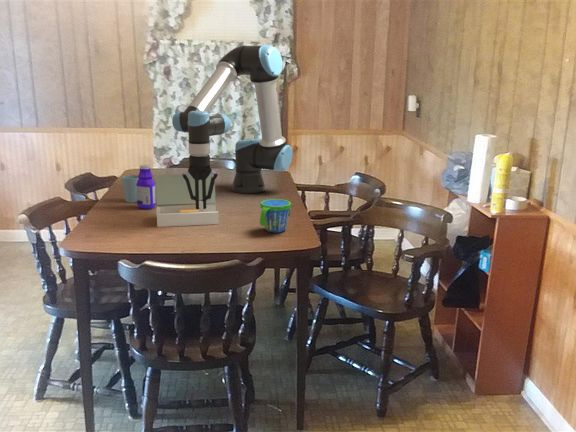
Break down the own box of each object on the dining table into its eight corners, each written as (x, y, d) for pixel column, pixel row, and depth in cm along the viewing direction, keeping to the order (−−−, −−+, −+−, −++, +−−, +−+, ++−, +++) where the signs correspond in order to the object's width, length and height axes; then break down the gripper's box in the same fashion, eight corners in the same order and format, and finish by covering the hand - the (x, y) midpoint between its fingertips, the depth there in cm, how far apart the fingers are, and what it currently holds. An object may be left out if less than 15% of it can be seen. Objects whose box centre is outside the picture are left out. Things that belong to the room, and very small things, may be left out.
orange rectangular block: (199, 218, 221) (198, 209, 220) (198, 222, 217) (198, 212, 216) (180, 219, 220) (180, 210, 219) (179, 222, 216) (179, 213, 215)
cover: (215, 204, 223) (215, 203, 224) (214, 173, 222) (214, 173, 223) (156, 206, 218) (156, 206, 219) (155, 175, 217) (155, 174, 218)
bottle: (158, 206, 236) (156, 164, 232) (151, 210, 231) (148, 166, 227) (143, 205, 239) (140, 163, 234) (135, 208, 233) (132, 165, 229)
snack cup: (271, 238, 199) (272, 209, 196) (249, 231, 205) (249, 203, 202) (300, 228, 210) (301, 201, 207) (278, 222, 217) (278, 196, 214)
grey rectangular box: (215, 215, 225) (215, 203, 224) (218, 224, 214) (218, 212, 213) (157, 217, 221) (156, 206, 220) (157, 226, 209) (156, 214, 208)
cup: (143, 202, 243) (142, 177, 240) (124, 204, 240) (123, 179, 237) (140, 198, 250) (138, 174, 247) (121, 199, 247) (120, 175, 244)
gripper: (216, 152, 216) (217, 214, 222) (180, 153, 213) (183, 215, 219) (218, 155, 209) (219, 219, 215) (181, 156, 206) (183, 221, 212)
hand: (201, 217), depth 217 cm, fingers closed
